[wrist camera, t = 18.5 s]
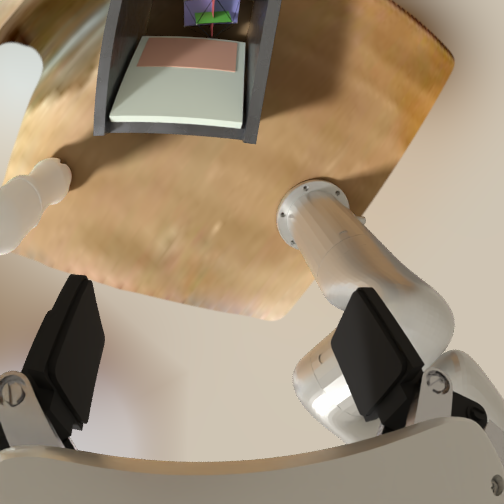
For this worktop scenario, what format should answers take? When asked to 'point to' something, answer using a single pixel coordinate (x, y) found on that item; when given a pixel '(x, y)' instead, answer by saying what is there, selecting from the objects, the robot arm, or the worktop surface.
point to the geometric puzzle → (210, 13)
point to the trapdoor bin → (125, 44)
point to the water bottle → (30, 200)
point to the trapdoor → (183, 82)
